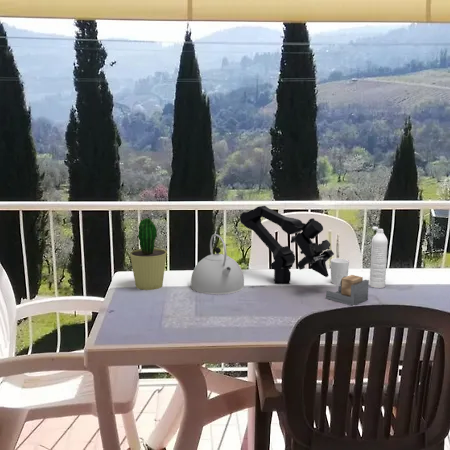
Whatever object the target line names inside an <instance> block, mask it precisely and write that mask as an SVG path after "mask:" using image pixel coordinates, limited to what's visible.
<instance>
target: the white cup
mask: <svg viewBox="0 0 450 450" xmlns="http://www.w3.org/2000/svg"><path fill="white" fill-rule="evenodd" d="M349 266H350V260H349V259H347V258H342V257H341V258H339V257H335V258H330V282H331V284H334V285H338V286H341V285H340V283H341V279H342V278H343V277H344V276H346V277H347V276H349Z"/></svg>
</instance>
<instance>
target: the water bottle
mask: <svg viewBox="0 0 450 450" xmlns="http://www.w3.org/2000/svg"><path fill="white" fill-rule="evenodd" d="M371 229H372V230H376V233H375V234H374V236H372V239H371V253H370V269H369V270H370V271H369V287H371V288H374V289H383V288H385V287H386V278H387V277H386V275H387V274H386V273H387V272H386V271H387V261H388V259H387V256H388V244H389V243H388V242H389V241H388V238H387V236H386V235H385V233H384V229H383V228H379V226H372V228H371Z"/></svg>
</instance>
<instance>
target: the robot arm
mask: <svg viewBox="0 0 450 450" xmlns="http://www.w3.org/2000/svg"><path fill="white" fill-rule="evenodd" d="M261 218H264V219H265V220H267V221H269V222H272V223H273V224H276V225H277V226H279V227H280V228H281V230H282V231H283V232H285V233H286V234H287V235H293V236H291V239H290V243H291V244H293V243H296V245H297V246H298V247H299V249H300V250H301V251H299V252H300V254H301V255H304V257H303V258H301V259H300V260H299V261H298V262H297V268H298V269H299V270H304V269H305V266H306V265H309V267H308V269H309V270H312V271H315V272H316V273H319V274H320V275H322V276H323V277H325V278H328V277H329V273H328V268H327V265H326V262H327V261H328V260H329V259H331V257H333V256H334V255H335V253H334V252H333V251H332V250H331V243H330V241H329V240H328V239H324V240H322V241H321V243H318V244H317V242H313V241H312V240H314V239H315V238H316V237H317V236H318V235H320V233H322V231H324V226H323V225H322V223H321V222H319V221H317V220H315V218H309V220H307V222H306V223H304V222H303V221H302V220H301V219H300V218H299V219H298V218H294V217H290V216H289V217H288V216H285V215H283V214H282V213H279V212H277V211H275V210H274V209H272V208H269V207H267V206H266V205H260V206H257V207H255V208H254V209H251V210H248V211H243V212H242V213H241V214H240V218H239V222H240V224H242V225H243V226H244V227H246V229H250V230H252V231H253V233H255V235H256V236H258V237H257V238H259V239H260V240H261V241H262V243H263V244H264V245H265V246H266V247H267V248H268V250H269V251H270V252H271V253H272V257H273V262H272V263H271V264H270V268H271V270H273V279H272V280H273V282H274V284H275V285H277V284H278V285H279V284H282V285H283V284H285V285H288V284H290V283H291V274H292V273H291V271H290V268H293V264H295V262H296V261H295V260H296V255H295V253H294V251H293V250H292V249H291V248H290V247H289V246H288V245H285V246H282V245H281V244H280V243H279V242H278V241H277V239H276V238H275V237H274V236H273V235H272V234H271V233H270V232H269V230H268V229H267V228H266V227H265V225H263V224H262V219H261Z"/></svg>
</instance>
